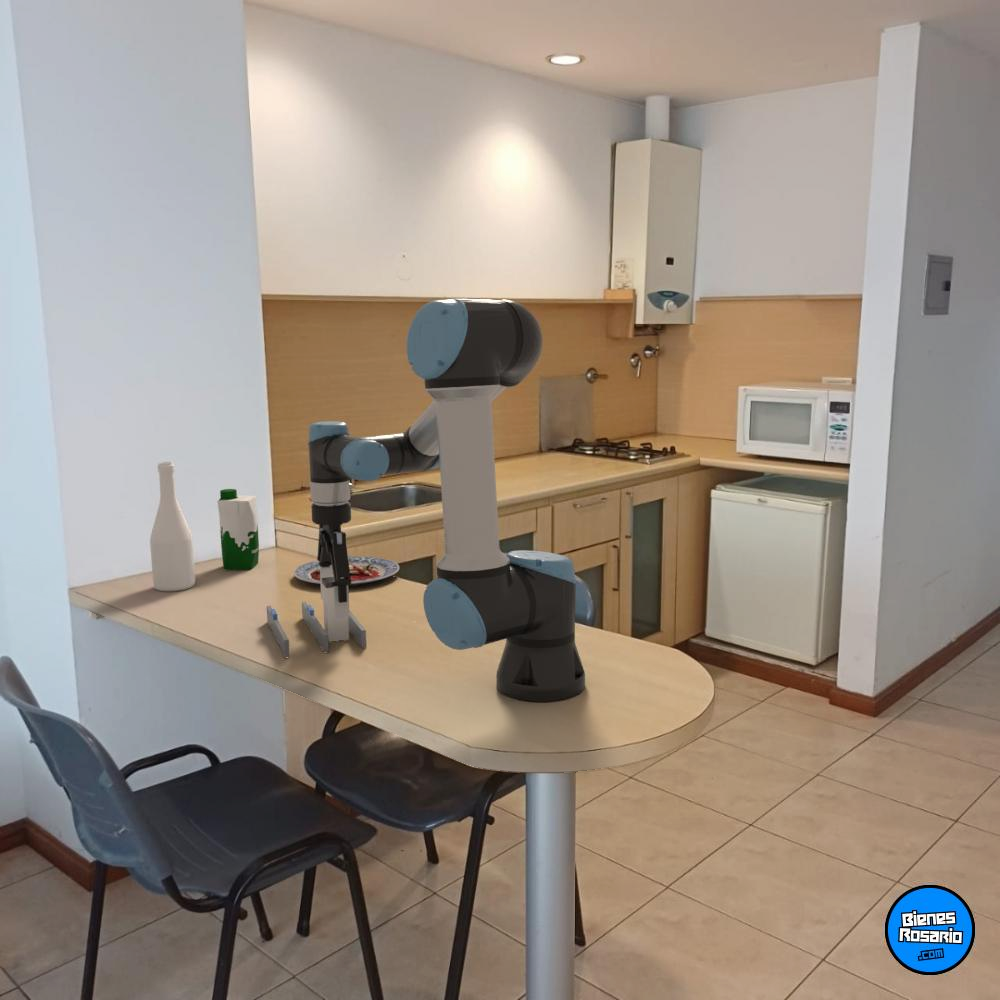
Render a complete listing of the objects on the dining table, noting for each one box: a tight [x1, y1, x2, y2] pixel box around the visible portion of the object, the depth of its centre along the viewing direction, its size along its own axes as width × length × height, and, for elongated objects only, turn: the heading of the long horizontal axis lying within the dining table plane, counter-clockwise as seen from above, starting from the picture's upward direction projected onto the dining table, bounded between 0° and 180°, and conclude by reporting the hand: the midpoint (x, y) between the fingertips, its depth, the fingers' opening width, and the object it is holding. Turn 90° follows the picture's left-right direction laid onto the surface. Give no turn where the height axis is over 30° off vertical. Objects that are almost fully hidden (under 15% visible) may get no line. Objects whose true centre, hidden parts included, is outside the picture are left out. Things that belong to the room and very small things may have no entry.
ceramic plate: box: [292, 556, 400, 586], centre depth 238 cm, size 26×26×3 cm
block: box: [322, 577, 350, 643], centre depth 190 cm, size 4×4×12 cm
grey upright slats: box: [266, 601, 367, 658], centre depth 193 cm, size 24×15×4 cm, turn 21°
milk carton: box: [217, 488, 260, 571], centre depth 247 cm, size 9×9×20 cm
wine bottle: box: [149, 461, 196, 592], centre depth 227 cm, size 10×10×30 cm
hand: (334, 607), depth 191 cm, fingers open, 13 cm apart
